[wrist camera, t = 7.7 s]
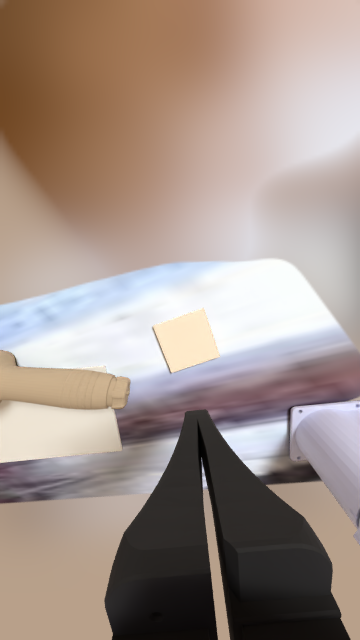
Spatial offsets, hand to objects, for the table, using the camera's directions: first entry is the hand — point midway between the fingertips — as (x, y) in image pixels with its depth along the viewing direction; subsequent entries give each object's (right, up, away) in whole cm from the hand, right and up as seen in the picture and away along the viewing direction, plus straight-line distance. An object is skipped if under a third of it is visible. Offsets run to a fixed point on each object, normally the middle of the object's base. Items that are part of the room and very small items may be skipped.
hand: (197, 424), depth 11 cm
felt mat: (-19, -6, +12) cm, 23 cm away
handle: (-7, -2, +9) cm, 11 cm away
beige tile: (0, +4, +10) cm, 11 cm away
